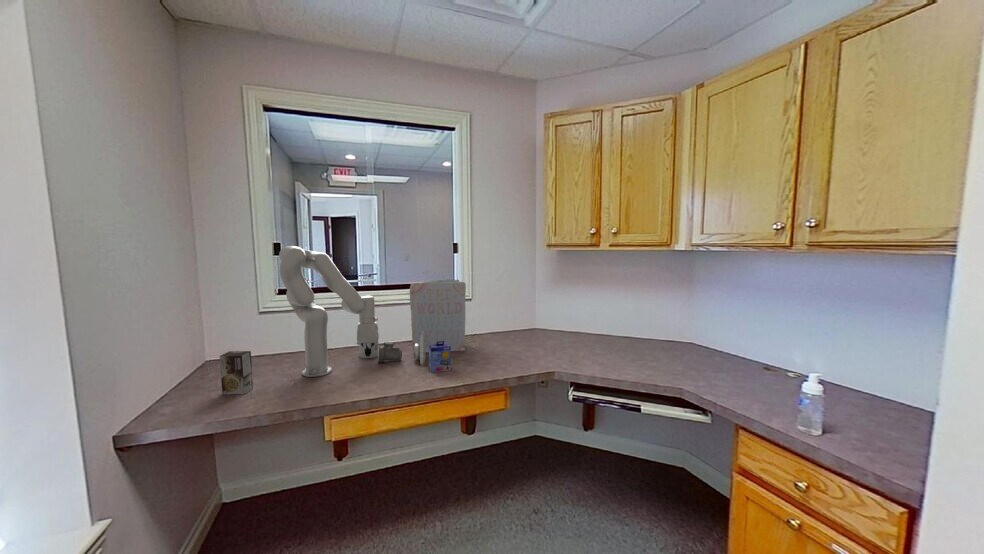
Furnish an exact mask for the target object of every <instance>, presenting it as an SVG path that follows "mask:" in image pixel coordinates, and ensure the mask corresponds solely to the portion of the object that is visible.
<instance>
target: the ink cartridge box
mask: <svg viewBox="0 0 984 554" xmlns="http://www.w3.org/2000/svg"><path fill="white" fill-rule="evenodd" d="M440 342H442V343H440ZM438 343H440V344H438ZM451 352H452V351H451V346H450V345H449V344H448V343H445V344H444V341H439V342H437V344H433V345H429V352H428V356H429V357H428V369H429V372H430V373H438V372H447V371H451V356H452V355H451V354H452V353H451Z"/></svg>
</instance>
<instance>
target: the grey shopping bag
mask: <svg viewBox="0 0 984 554" xmlns="http://www.w3.org/2000/svg"><path fill="white" fill-rule="evenodd" d="M466 288H467V285H466V282H465V281H460V279H443V280H441V279H439V280H431V281H420V282H419V281H415V282H412V283H411V284H410V286H409V307H410V319H411V320H410V321H411V323H410V324H411V325H410V326H411V336H412V337H411V338H412V350H411V354H414V344H415V343H420V336H421V334H422V331H425V344H426V353H429V345H433V344H437V342H439V341H444V344H445V343H448V344H449V345H450V346H451V352H457V351H458V352H459V351H466V348H465V344H466V343H465V342H466V291H467V290H466ZM440 343H442V342H440ZM440 343H438V344H440Z"/></svg>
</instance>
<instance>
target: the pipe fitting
mask: <svg viewBox="0 0 984 554" xmlns="http://www.w3.org/2000/svg"><path fill="white" fill-rule="evenodd" d="M394 345H395V342H393V341H384V342H383V346H378V348H379V351H378V356H377V363H383V362H385V361H387V362H400V361H402V360H403V359H402V357H403V350H402V349H400V347H399V346H394Z"/></svg>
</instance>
